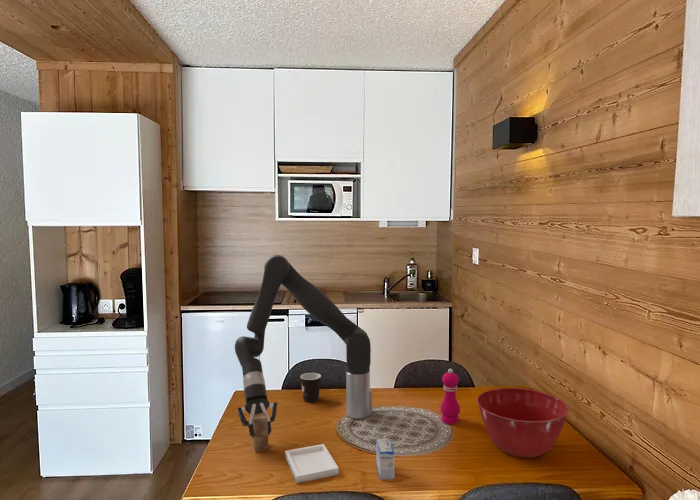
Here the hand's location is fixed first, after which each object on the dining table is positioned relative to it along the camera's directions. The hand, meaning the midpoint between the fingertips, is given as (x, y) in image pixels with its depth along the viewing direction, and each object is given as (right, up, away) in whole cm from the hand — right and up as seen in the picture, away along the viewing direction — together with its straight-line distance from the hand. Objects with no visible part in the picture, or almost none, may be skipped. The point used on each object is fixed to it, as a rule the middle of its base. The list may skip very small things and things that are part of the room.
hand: (261, 435), depth 159 cm
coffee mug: (+13, -1, +44) cm, 46 cm away
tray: (+17, -6, -9) cm, 21 cm away
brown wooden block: (-1, -5, +2) cm, 6 cm away
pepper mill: (+67, -3, +21) cm, 70 cm away
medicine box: (+40, -6, -14) cm, 43 cm away
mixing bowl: (+86, -4, 0) cm, 86 cm away
